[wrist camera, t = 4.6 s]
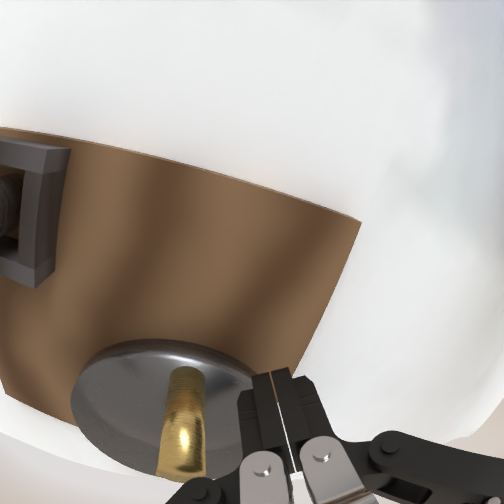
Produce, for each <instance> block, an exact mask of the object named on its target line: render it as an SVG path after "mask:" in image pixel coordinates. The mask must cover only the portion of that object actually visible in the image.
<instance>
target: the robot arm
mask: <svg viewBox="0 0 504 504" xmlns="http://www.w3.org/2000/svg"><path fill="white" fill-rule="evenodd" d="M271 375H272V379H273V383H274V387H275V391H276V395H277V399H278V403H279V406H280V410H281V414H282V418H283V422H284V426H285V429H286V433H287V437H288V441H289V445H290V448H291V452H292V456H293V460H294V464H295V467H296V471H297V472H299V471H302V472H303V476H304V479H305V483H306V487H307V490H308V493H309V495H310V497H311V500H312V502H313V504H379V503H378V501H377V500H376V498H375V496H374V495H373V493H374V494H377V495H379V496H382V497H384V498H387V499H389V500H392V501H395V502H398V503H400V504H504V459H501V458H496V457H491V456H486V455H481V454H476V453H472V452H468V451H464V450H460V449H456V448H452V447H448V446H445V445H441V444H438V443H434V442H431V441H427V440H424V439H421V438H418V437H414V436H411V435H408V434H405V433H402V432H399V431H386V432H383V433H380V434H379V435H377V436H376V437H375V438H374V439H373V440H372V441H366V442H347V441H344V440H341V439H340V438H338V437H337V436H336V435H335V434H334V432H333V430H332V428H331V425H330V423H329V420H328V418H327V415H326V413H325V410H324V408H323V406H322V403H321V401H320V398H319V396H318V394H317V391H316V388H315V386H314V384H313V382H312V381H310V380H309V379H308V378H307V377H306V376H305V375H304V376H301V377H297V378H293V379H292V376H291V373H290V370H289V367H285V368H281V369H277V370H273V371H271ZM251 379H252V385H253V389H249V390H244V391H241V392H240V395H239V397H238V400H237V408H238V417H239V426H240V435H241V443H242V451H243V457H242V461H241V463H240V465H239V466H238V467H237V468H236V469H235V470H234V471H233V472H231V473H229V474H227V475H225V476H223V477H220V478H218V479H216V480H212V479H210V478H206V477H196V478H193V479H190V480H188V481H187V482H186V483H184V484H183V485H182V487H181V488H180V489H179V490H178V491H177V492H176V493H175V494H174V495H173V496H172V497H171V498H170V499H169V500H168V502H166V503H165V504H294V498H293V492H292V491H293V486H292V482H291V478H290V474H292V473H295V471H294V467H293V463H292V459H291V455H290V452H289V448H288V444H287V440H286V436H285V432H284V428H283V424H282V420H281V417H280V413H279V409H278V405H277V401H276V397H275V393H274V389H273V386H272V382H271V378H270V374H269V372H266V373H261V374H257V375H253V376H251Z"/></svg>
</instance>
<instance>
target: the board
mask: <svg viewBox="0 0 504 504" xmlns="http://www.w3.org/2000/svg"><path fill="white" fill-rule="evenodd" d="M11 173H20V174H22V175H24V183H23V190H22V199H21V210H20V223H19V227H18V228H16V229H14V230H12V231H10V232H8V233H6V234H4V235H2V236H0V378H1V382H2V385H3V388H4V391H5V394H7V395H9V396H11V397H13V398H15V399H16V400H18V401H20V402H22V403H24V404H26V405H28V406H30V407H32V408H35V409H37V410H39V411H41V412H43V413H45V414H48V415H50V416H52V417H55V418H57V419H59V420H62V421H64V422H67V423H69V424H72V425H75V426H77V427H78V425H77V424H76V422H75V419H74V417H73V414H72V410H71V403H70V398H71V392H72V390H73V387H74V385H75V383H76V381H77V379H78V377H79V375H80V373H81V371H82V369H83V367H84V365H85V364H86V363H87V361H88V360H89V359H90V358H91V357H92V356H94V355H95V354H96V353H97V352H99V351H101V350H102V349H104V348H106V347H109V346H111V345H114V344H116V343H120V342H124V341H129V340H136V339H152V338H161V339H172V340H180V341H185V342H191V343H196V344H199V345H203V346H206V347H210V348H212V349H215V350H218V351H220V352H223V353H225V354H227V355H229V356H231V357H233V358H235V359H238V360H239V361H241V362H242V363H244V364H245V365H247V366H248V367H250V368H251V369H252V370H253V371H255V372H256V373H257V374H261V373H266V372H269V374H270V378H271V382H272V386H273V389H274V393H275V397H276V401H277V403H278V399H277V395H276V391H275V387H274V383H273V379H272V375H271V371H273V370H277V369H281V368H285V367H289V370H290V373H291V376H293V374H294V372H295V370H296V368H297V366H298V364H299V362H300V360H301V358H302V356H303V355H304V353H305V351H306V349H307V347H308V345H309V343H310V341H311V339H312V336H313V334H314V332H315V330H316V328H317V326H318V324H319V322H320V320H321V318H322V316H323V313H324V311H325V309H326V307H327V305H328V303H329V300H330V298H331V296H332V294H333V291H334V289H335V287H336V285H337V282H338V280H339V278H340V275H341V273H342V271H343V268H344V266H345V264H346V261H347V259H348V256H349V254H350V251H351V249H352V246H353V244H354V241H355V239H356V236H357V234H358V231H359V229H360V226H361V223H362V222H360V221H358V220H356V219H354V218H353V217H350V216H348V215H345V214H342V213H339V212H337V211H334V210H331V209H328V208H326V207H323V206H320V205H317V204H314V203H311V202H308V201H306V200H303V199H300V198H297V197H294V196H291V195H288V194H285V193H282V192H279V191H276V190H272V189H269V188H266V187H263V186H260V185H257V184H253V183H250V182H247V181H244V180H240V179H237V178H234V177H230V176H227V175H223V174H220V173H217V172H213V171H209V170H206V169H202V168H199V167H195V166H191V165H188V164H184V163H180V162H176V161H172V160H168V159H165V158H161V157H157V156H152V155H148V154H144V153H140V152H136V151H131V150H127V149H123V148H118V147H114V146H109V145H104V144H99V143H95V142H90V141H85V140H79V139H74V138H69V137H63V136H58V135H52V134H46V133H40V132H33V131H27V130H20V129H13V128H5V127H0V176H1V175H6V174H11Z"/></svg>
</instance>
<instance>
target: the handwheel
mask: <svg viewBox="0 0 504 504" xmlns="http://www.w3.org/2000/svg"><path fill="white" fill-rule="evenodd" d="M253 375H257V373H256V372H255V371H253V370H252V369H251V368H250V367H248V366H247V365H245V364H244V363H242V362H241V361H239V360H238V359H235V358H233V357H231V356H229V355H227V354H225V353H223V352H220V351H218V350H215V349H212V348H210V347H206V346H203V345H199V344H196V343H191V342H185V341H180V340H172V339H161V338H152V339H136V340H129V341H124V342H120V343H116V344H114V345H111V346H109V347H106V348H104V349H102V350H101V351H99V352H97V353H96V354H95V355H94V356H92V357H91V358H90V359H89V360H88V361H87V363H86V364H85V365H84V367H83V369H82V371H81V373H80V375H79V377H78V379H77V381H76V383H75V385H74V387H73V390H72V392H71V398H70V403H71V410H72V414H73V417H74V419H75V422H76V424H77V425H78V427H79V428H80V430H81V432H82V433H83V434H84V435H85V436H86V438H87V439H88V440H89V441H90V442H91V443H92V444H93V445H94V446H95V447H97V448H98V449H99V450H100V451H102V452H103V453H104V454H106V455H107V456H109V457H110V458H112V459H114V460H116V461H117V462H119V463H121V464H123V465H125V466H127V467H130V468H132V469H135V470H137V471H140V472H143V473H146V474H149V475H153V476H158V477H162V478H166V479H168V480H171V481H174V482H179V483H186V482H187V481H188V480H190V479H193V478H196V477H206V478H210V479H217V478H220V477H223V476H225V475H227V474H229V473H231V472H233V471H234V470H235V469H236V468H237V467H238V466H239V465H240V463H241V461H242V457H243V451H242V443H241V435H240V426H239V417H238V408H237V400H238V397H239V395H240V392H241V391H244V390H249V389H253V385H252V379H251V376H253Z"/></svg>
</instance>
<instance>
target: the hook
mask: <svg viewBox="0 0 504 504" xmlns="http://www.w3.org/2000/svg"><path fill="white" fill-rule="evenodd" d="M23 183H24V175H22V174H20V173H11V174H6V175H1V176H0V236H2V235H4V234H6V233H8V232H10V231H12V230H14V229H16V228H18V227H19V223H20V210H21V199H22V190H23Z"/></svg>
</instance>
